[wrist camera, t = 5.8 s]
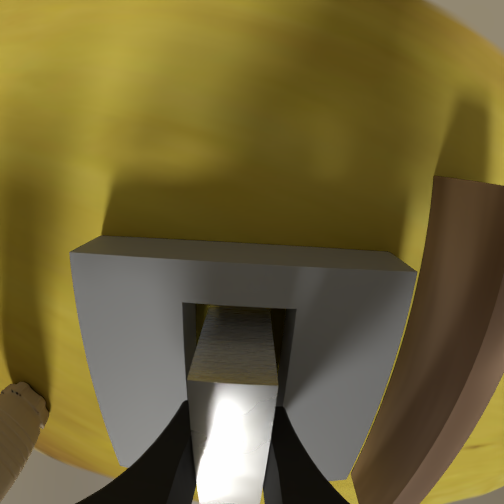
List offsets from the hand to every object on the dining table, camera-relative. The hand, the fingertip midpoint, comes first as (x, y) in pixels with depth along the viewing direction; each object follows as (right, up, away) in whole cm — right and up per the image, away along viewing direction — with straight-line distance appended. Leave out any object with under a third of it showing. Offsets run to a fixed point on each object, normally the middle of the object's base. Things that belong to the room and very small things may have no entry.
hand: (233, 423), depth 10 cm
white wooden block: (0, +1, +3) cm, 3 cm away
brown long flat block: (+8, 0, +3) cm, 9 cm away
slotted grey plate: (0, +1, +3) cm, 3 cm away
